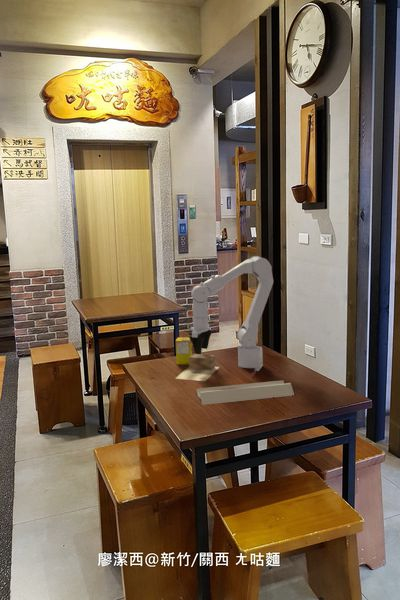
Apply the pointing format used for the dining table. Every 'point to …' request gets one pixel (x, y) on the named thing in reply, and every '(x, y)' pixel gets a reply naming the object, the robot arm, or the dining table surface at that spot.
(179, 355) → the supplement box
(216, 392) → the crown molding
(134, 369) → the dining table surface
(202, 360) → the block
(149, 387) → the dining table surface
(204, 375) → the birch board
